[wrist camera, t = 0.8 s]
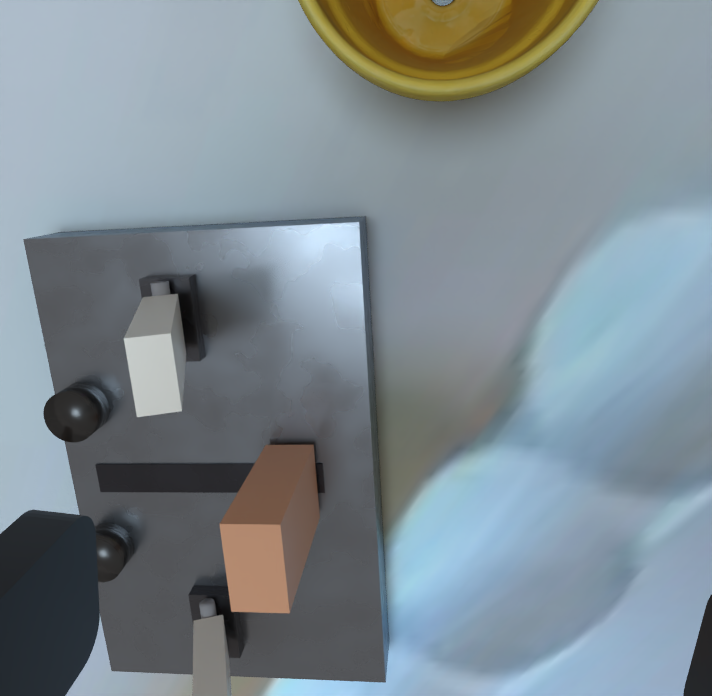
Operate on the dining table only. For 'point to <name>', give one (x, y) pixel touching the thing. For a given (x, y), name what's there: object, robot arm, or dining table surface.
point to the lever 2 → (210, 653)
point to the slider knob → (271, 529)
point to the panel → (222, 433)
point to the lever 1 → (157, 353)
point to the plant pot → (444, 41)
